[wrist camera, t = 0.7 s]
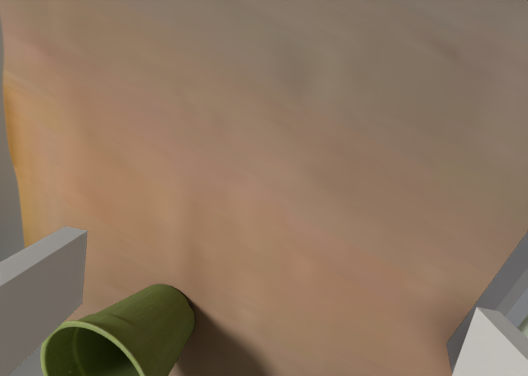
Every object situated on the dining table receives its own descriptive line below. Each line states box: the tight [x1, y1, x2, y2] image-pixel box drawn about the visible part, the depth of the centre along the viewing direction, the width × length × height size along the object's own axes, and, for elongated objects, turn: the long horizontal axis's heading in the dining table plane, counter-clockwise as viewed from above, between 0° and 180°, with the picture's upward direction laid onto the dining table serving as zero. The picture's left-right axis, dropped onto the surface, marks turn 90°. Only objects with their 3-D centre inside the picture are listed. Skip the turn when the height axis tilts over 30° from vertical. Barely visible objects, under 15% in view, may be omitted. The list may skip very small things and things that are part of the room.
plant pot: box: [41, 284, 195, 376], centre depth 36 cm, size 12×12×11 cm
